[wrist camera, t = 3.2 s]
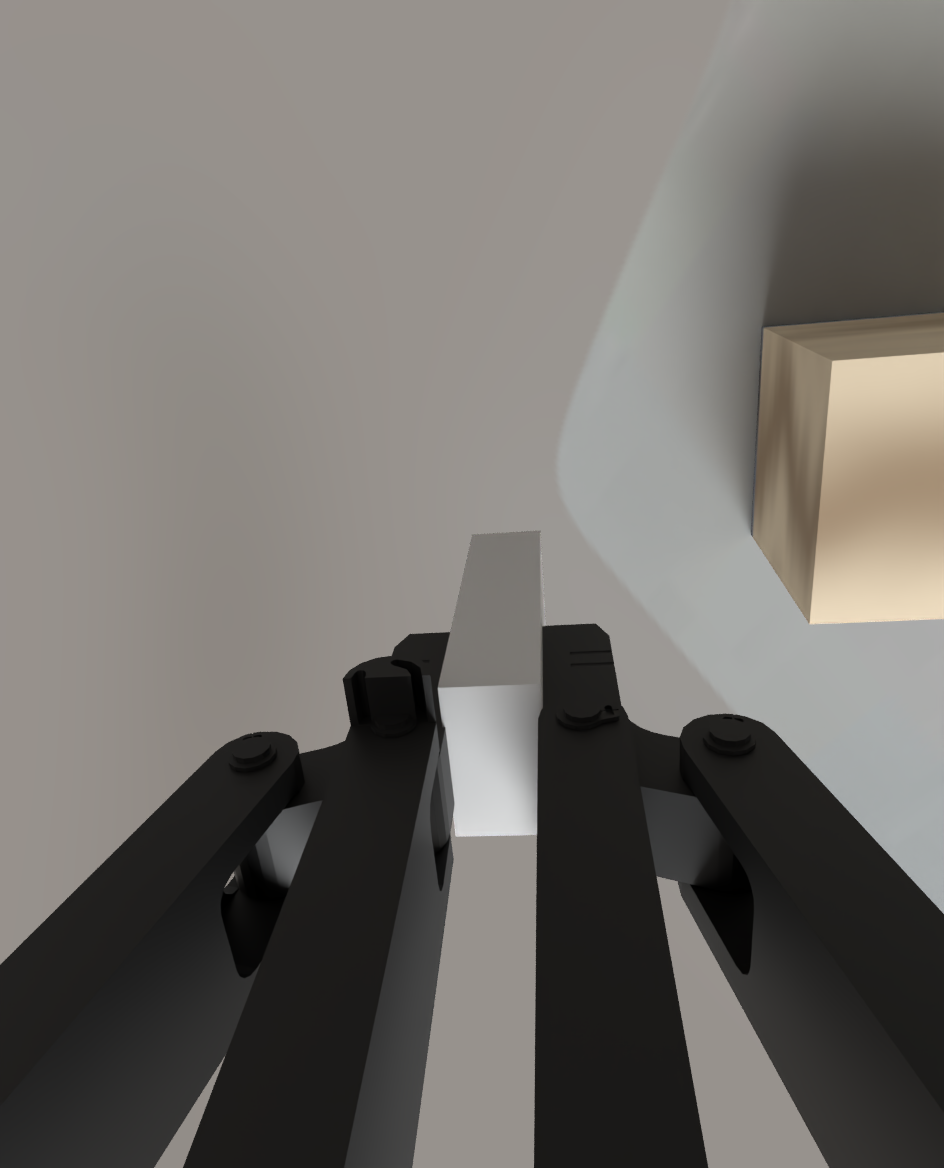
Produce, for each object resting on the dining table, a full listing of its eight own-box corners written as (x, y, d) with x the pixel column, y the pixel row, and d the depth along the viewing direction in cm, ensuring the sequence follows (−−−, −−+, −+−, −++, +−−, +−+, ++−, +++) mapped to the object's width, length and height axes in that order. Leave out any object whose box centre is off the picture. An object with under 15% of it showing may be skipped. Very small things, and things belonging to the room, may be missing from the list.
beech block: (761, 326, 25) (832, 360, 19) (997, 307, 25) (1154, 335, 18) (750, 534, 28) (809, 624, 22) (962, 522, 27) (1087, 613, 21)
